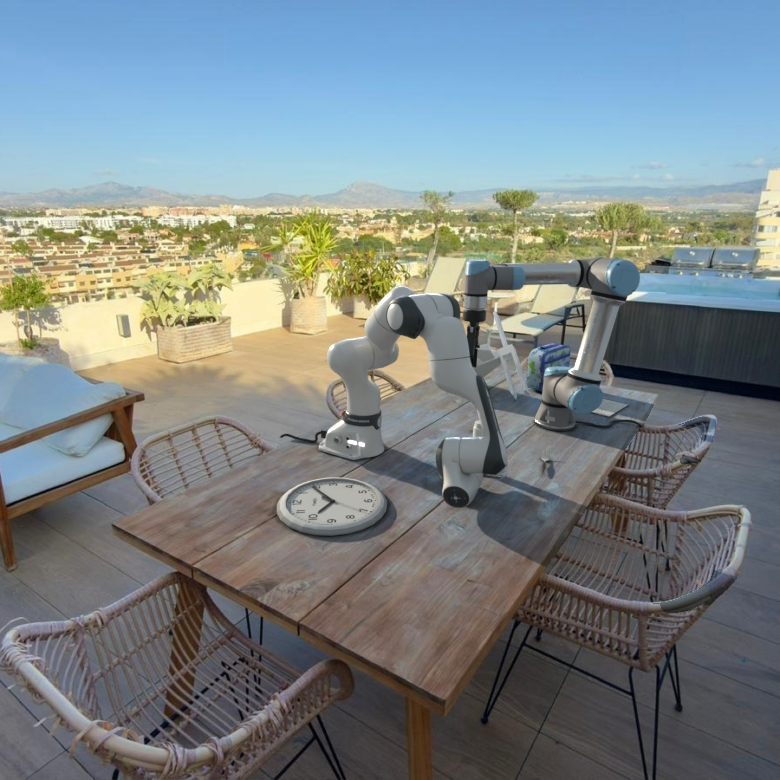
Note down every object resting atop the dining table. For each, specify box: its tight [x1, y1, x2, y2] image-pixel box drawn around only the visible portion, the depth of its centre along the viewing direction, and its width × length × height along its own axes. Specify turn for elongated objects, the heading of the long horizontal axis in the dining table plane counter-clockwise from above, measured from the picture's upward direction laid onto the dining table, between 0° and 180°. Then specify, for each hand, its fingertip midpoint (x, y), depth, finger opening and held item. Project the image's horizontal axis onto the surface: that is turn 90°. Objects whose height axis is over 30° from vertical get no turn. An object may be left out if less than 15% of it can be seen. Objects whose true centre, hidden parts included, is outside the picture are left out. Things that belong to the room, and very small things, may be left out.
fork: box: [541, 449, 551, 474], centre depth 169 cm, size 3×16×2 cm, turn 160°
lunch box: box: [525, 343, 571, 393], centre depth 249 cm, size 26×11×21 cm, turn 134°
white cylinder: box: [472, 419, 483, 437], centre depth 164 cm, size 4×4×16 cm
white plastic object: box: [473, 310, 531, 400], centre depth 245 cm, size 37×45×31 cm
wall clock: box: [276, 476, 388, 537], centre depth 142 cm, size 30×2×30 cm
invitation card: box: [591, 398, 629, 418], centre depth 226 cm, size 21×1×15 cm
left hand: (477, 454), depth 162 cm, fingers open, 8 cm apart
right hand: (470, 371), depth 176 cm, fingers open, 13 cm apart
